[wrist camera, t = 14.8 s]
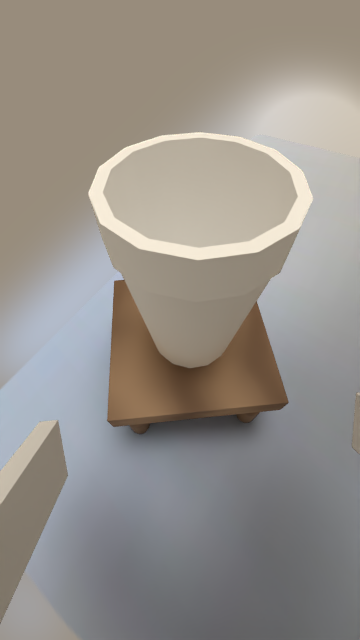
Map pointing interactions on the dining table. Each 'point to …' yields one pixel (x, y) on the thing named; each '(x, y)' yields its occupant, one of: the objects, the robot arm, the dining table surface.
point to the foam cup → (198, 233)
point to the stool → (187, 374)
